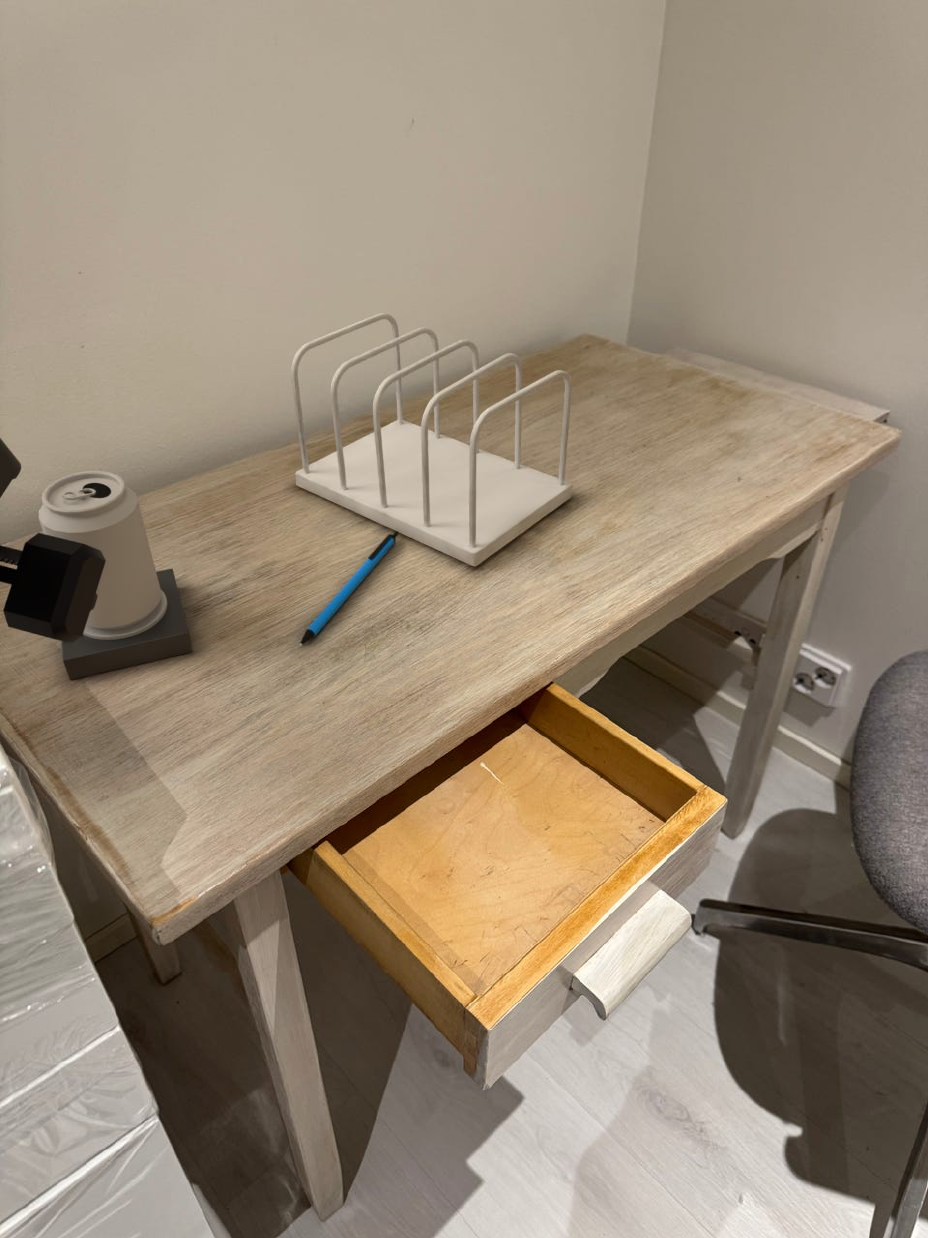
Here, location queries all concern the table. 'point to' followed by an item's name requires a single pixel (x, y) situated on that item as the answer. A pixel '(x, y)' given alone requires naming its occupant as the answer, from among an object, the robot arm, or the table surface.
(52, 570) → the robot arm
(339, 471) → the file sorter
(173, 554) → the table surface
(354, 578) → the pen
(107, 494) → the can
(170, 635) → the scale
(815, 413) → the table surface
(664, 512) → the table surface
